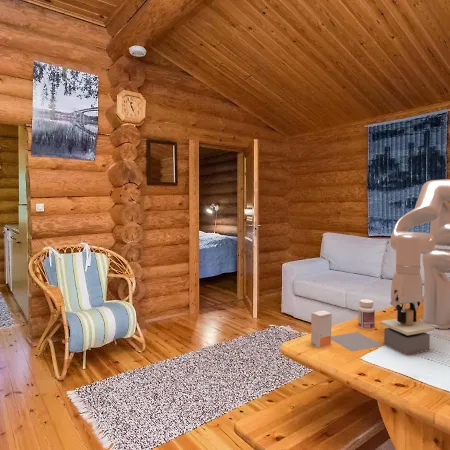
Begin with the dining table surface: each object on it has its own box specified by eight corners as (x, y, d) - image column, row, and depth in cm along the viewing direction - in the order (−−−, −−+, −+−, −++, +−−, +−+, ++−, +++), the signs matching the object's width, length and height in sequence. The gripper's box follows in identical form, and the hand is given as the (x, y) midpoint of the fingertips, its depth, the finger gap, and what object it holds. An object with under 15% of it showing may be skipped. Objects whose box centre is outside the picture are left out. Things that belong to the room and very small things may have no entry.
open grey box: (405, 340, 132) (405, 324, 132) (429, 351, 123) (429, 334, 123) (384, 344, 129) (384, 328, 129) (406, 356, 120) (407, 338, 119)
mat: (357, 332, 141) (357, 332, 141) (384, 346, 128) (384, 345, 128) (327, 337, 136) (327, 336, 136) (351, 352, 123) (351, 351, 123)
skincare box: (318, 349, 126) (319, 315, 126) (310, 344, 130) (310, 312, 129) (331, 345, 129) (332, 313, 128) (323, 341, 133) (323, 309, 132)
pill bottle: (377, 328, 145) (378, 301, 145) (368, 332, 142) (368, 303, 141) (364, 324, 150) (364, 297, 150) (354, 327, 147) (355, 300, 146)
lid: (406, 319, 133) (406, 303, 133) (434, 330, 122) (435, 313, 122) (380, 323, 129) (380, 307, 129) (407, 335, 118) (407, 317, 118)
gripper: (417, 266, 131) (415, 315, 132) (380, 269, 125) (379, 321, 126) (435, 269, 124) (434, 322, 125) (397, 273, 118) (396, 328, 119)
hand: (406, 321), depth 125 cm, fingers closed on lid, 3 cm apart
